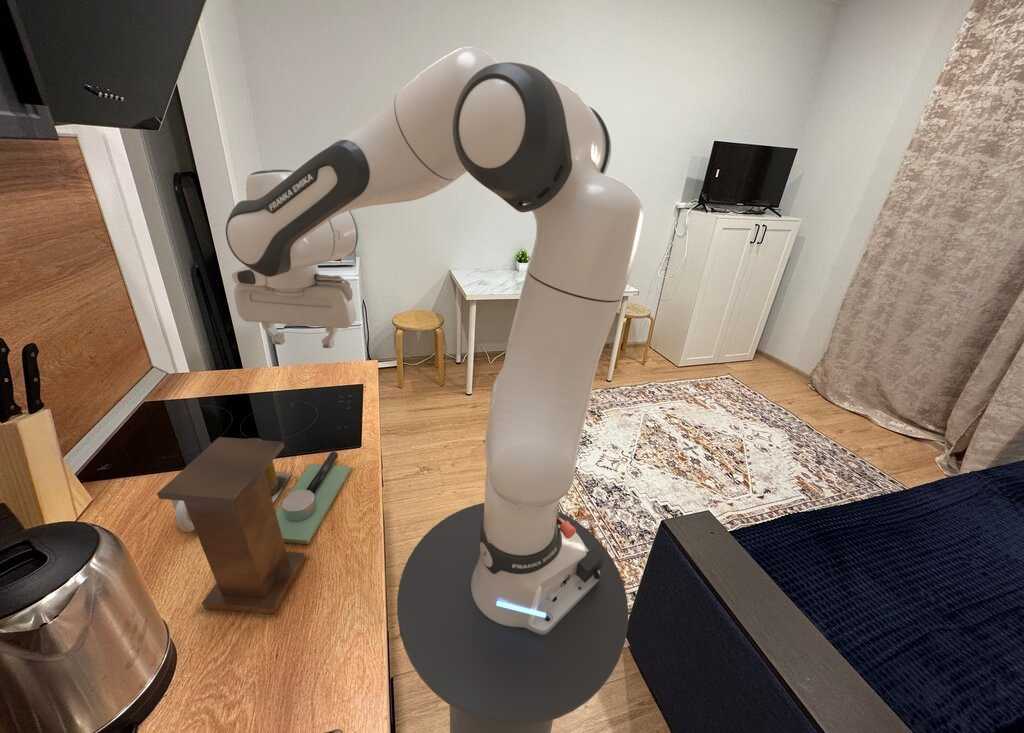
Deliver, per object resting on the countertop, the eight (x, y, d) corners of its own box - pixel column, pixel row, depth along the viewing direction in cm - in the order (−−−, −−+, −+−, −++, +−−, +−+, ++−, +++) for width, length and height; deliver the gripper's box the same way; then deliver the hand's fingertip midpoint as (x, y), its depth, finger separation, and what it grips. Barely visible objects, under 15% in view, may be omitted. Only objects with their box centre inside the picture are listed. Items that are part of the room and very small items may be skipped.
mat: (311, 467, 94) (310, 463, 93) (350, 470, 93) (350, 466, 93) (259, 540, 76) (258, 536, 75) (308, 544, 76) (307, 540, 75)
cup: (233, 500, 84) (222, 466, 80) (210, 541, 75) (196, 505, 71) (193, 503, 82) (179, 468, 78) (165, 545, 74) (148, 509, 70)
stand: (250, 544, 75) (215, 436, 64) (311, 549, 75) (286, 441, 64) (204, 609, 64) (152, 493, 53) (274, 614, 64) (237, 499, 53)
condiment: (236, 503, 83) (220, 455, 78) (257, 474, 91) (245, 428, 85) (273, 503, 84) (261, 456, 78) (292, 474, 91) (281, 430, 86)
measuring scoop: (323, 455, 96) (322, 445, 95) (347, 457, 96) (346, 447, 95) (278, 520, 79) (275, 510, 77) (308, 523, 79) (305, 512, 77)
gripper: (357, 272, 75) (364, 342, 81) (244, 264, 75) (260, 334, 81) (343, 281, 69) (352, 356, 75) (221, 272, 69) (240, 348, 75)
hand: (304, 345), depth 78 cm, fingers open, 8 cm apart
